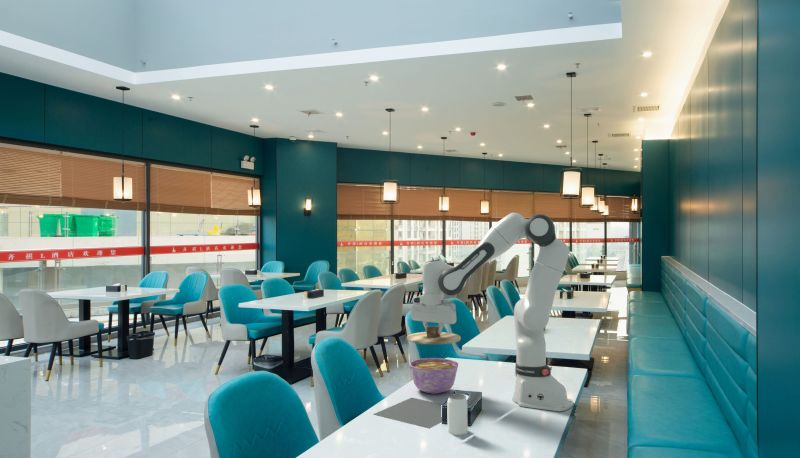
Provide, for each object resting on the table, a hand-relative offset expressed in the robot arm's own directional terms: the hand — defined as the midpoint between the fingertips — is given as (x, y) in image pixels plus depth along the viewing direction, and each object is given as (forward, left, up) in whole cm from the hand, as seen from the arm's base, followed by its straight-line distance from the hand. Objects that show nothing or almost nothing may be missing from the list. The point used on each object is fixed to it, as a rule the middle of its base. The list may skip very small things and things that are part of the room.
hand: (433, 333), depth 223 cm
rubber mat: (-10, +25, -24) cm, 36 cm away
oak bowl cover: (0, 0, -2) cm, 2 cm away
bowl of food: (0, 0, -24) cm, 24 cm away
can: (-31, +34, -24) cm, 52 cm away
